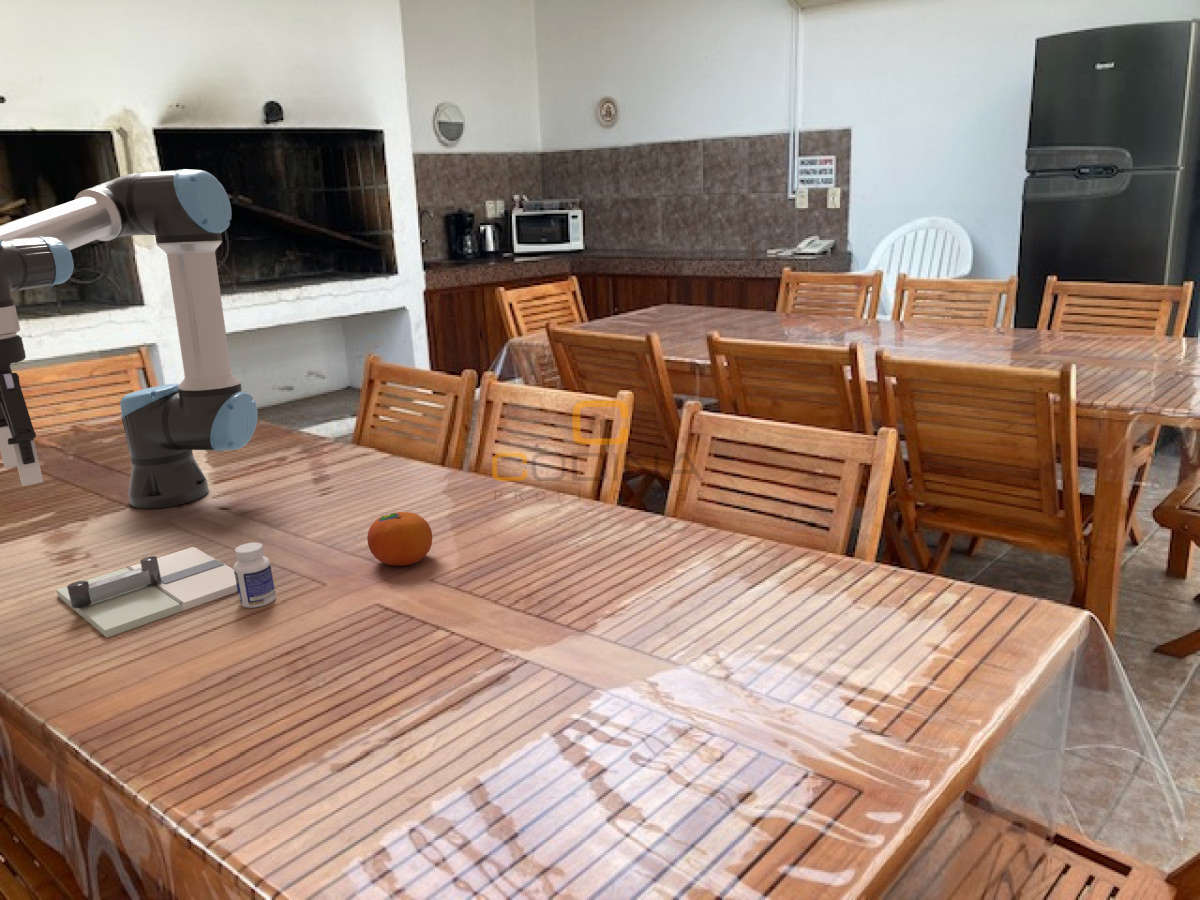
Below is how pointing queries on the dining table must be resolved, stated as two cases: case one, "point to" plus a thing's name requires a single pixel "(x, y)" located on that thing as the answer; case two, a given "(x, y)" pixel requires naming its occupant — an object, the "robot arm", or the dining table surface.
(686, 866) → the dining table surface
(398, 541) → the fruit
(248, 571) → the pill bottle
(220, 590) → the door board
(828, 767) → the dining table surface
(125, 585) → the swing bar
